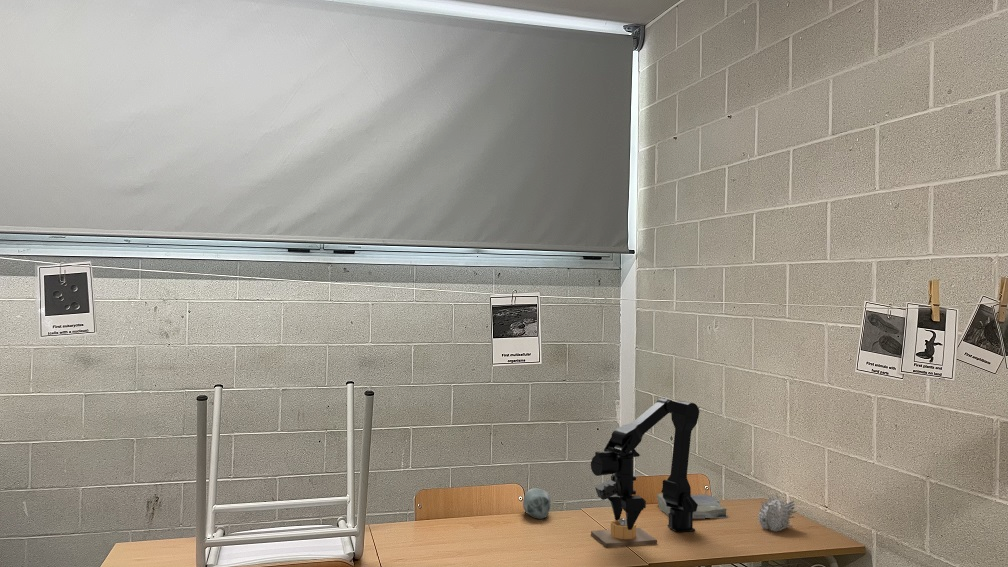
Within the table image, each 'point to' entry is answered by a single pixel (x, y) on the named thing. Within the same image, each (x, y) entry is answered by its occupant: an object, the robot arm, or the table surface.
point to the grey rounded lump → (537, 503)
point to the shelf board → (611, 541)
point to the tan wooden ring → (622, 531)
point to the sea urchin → (775, 514)
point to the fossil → (699, 506)
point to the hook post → (622, 522)
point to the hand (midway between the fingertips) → (623, 525)
